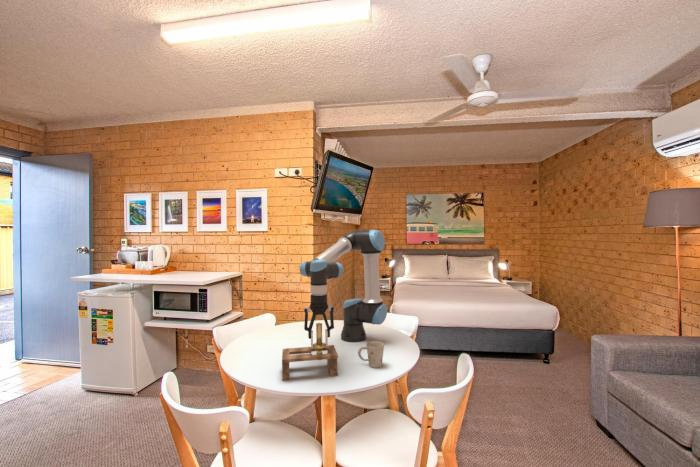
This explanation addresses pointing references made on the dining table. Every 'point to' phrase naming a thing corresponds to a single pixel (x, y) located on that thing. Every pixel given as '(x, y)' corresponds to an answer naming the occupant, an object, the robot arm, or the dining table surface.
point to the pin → (319, 339)
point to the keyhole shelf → (308, 358)
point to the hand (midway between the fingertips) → (319, 344)
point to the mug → (373, 353)
